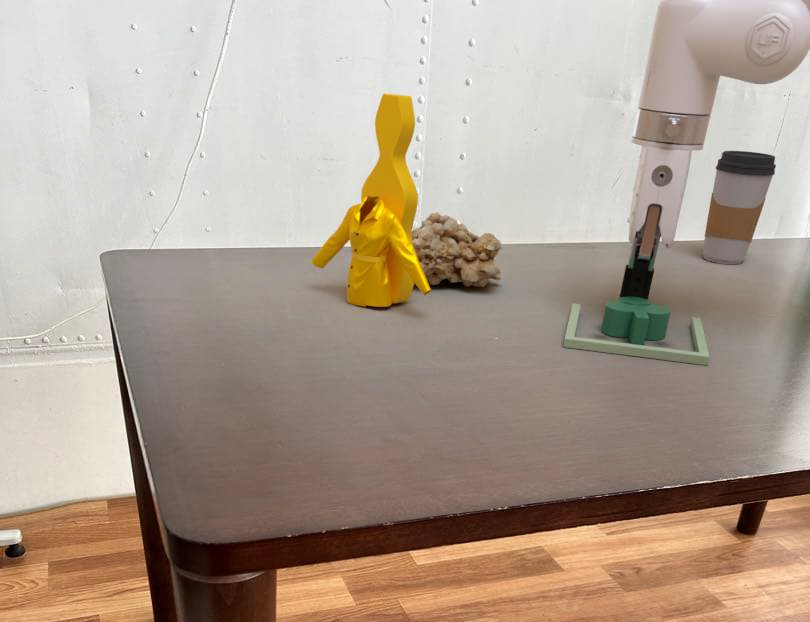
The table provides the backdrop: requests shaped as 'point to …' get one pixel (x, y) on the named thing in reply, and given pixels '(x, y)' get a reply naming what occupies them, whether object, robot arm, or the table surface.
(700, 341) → the pocket
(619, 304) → the club
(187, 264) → the table surface
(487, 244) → the mineral formation
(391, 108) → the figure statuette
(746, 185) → the coffee cup
